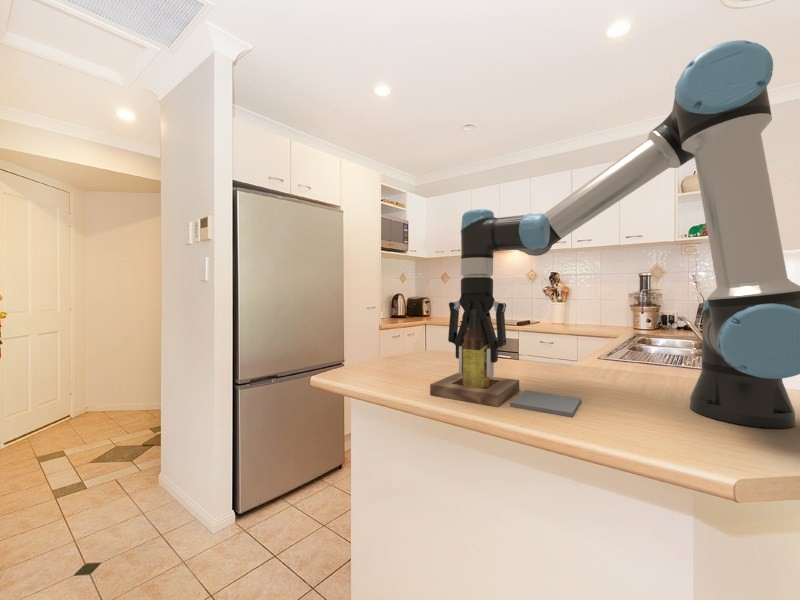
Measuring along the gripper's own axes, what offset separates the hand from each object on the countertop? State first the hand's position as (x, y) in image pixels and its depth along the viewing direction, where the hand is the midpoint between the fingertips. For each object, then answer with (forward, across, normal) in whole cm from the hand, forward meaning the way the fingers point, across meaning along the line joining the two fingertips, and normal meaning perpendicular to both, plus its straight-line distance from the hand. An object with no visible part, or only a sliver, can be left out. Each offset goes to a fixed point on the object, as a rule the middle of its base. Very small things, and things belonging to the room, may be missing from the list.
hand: (476, 374), depth 88 cm
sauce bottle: (+5, 0, 0) cm, 5 cm away
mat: (+4, -16, 0) cm, 17 cm away
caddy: (+4, 0, 0) cm, 4 cm away
